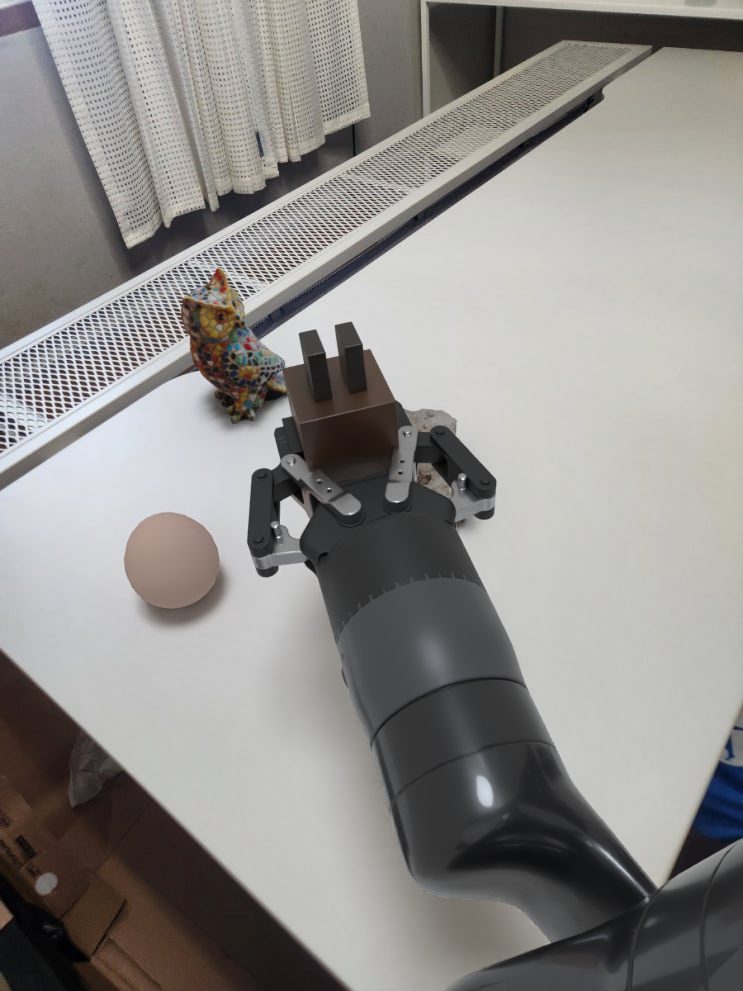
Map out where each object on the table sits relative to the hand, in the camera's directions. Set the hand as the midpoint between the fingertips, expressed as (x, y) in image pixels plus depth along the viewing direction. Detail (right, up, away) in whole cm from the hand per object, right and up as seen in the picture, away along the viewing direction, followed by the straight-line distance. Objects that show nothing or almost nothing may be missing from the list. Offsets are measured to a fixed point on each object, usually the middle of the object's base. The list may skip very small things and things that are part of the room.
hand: (335, 417), depth 43 cm
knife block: (+1, -6, +3) cm, 7 cm away
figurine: (-11, +5, +31) cm, 33 cm away
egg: (-13, -13, +14) cm, 23 cm away
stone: (+6, -4, +20) cm, 21 cm away
